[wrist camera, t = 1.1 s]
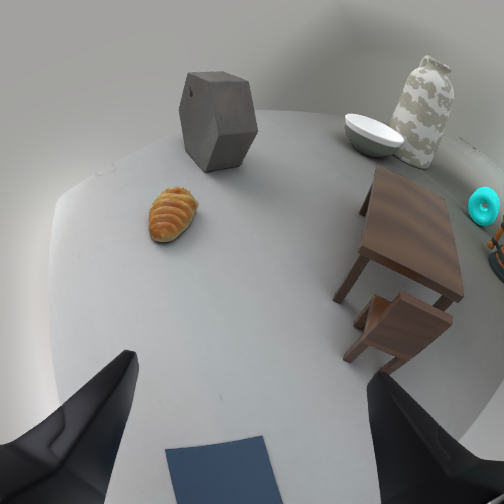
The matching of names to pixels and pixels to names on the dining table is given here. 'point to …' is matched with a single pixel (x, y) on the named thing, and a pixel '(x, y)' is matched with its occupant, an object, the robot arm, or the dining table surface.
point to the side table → (407, 237)
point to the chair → (398, 328)
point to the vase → (423, 112)
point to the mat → (223, 473)
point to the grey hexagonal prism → (217, 119)
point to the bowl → (372, 136)
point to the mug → (497, 254)
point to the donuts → (476, 208)
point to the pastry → (171, 214)
